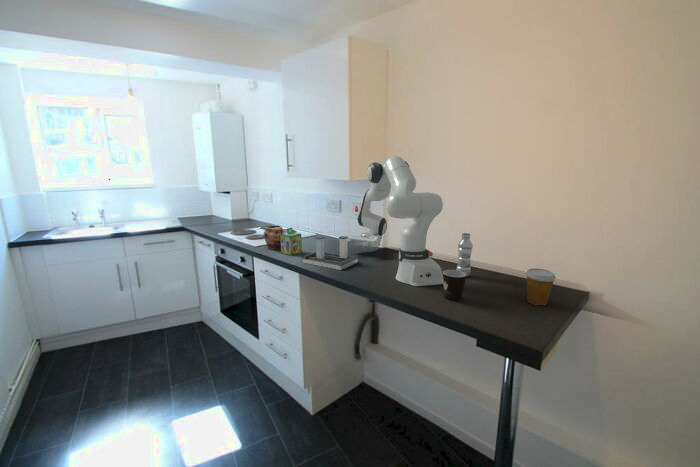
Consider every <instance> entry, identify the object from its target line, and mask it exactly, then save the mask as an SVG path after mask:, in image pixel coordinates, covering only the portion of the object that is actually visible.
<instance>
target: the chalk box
mask: <svg viewBox="0 0 700 467" xmlns="http://www.w3.org/2000/svg"><path fill="white" fill-rule="evenodd" d="M302 238H303V237H302V233H299V232H294V229H293V227H288V228H286V232H284V234H280V240H281V249H280V254H283V255H284V254H285V255H289V256H294V255H298V254H300V253H303V249H302V248H303V246H302V245H303V243H302V242H303V241H302V240H303V239H302Z"/></svg>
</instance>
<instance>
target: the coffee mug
mask: <svg viewBox="0 0 700 467" xmlns="http://www.w3.org/2000/svg"><path fill="white" fill-rule="evenodd" d="M442 274H443V284H442V285H443V298H444V299H445V300H447V301H449V302H460V301H461V300H462V299H463V298H462V297H463V294H464V288H465V283H466V280H467V277H466V273H464V272H462V271H458V270H456V269H447V270H442Z"/></svg>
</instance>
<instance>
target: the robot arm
mask: <svg viewBox="0 0 700 467" xmlns="http://www.w3.org/2000/svg"><path fill="white" fill-rule="evenodd" d="M366 170H367V172H366V175H367V178H368V180H369V182H370V188H368V189H367V190H366V191H365V193H364V196H363V197H362V198H363V199H362V201H361V202H362V203H361V206H360V211H359V213H358V216H357V219H356V220H357V223H358V225H359V226H361V227H363V228H366V229H369V230H366V231H364V232H362V233H361V234H360V235H347V236H348V238H347V245H357V246H361V247H364V248H368V247H371V248H377V247H378V248H379V247H380V246H381V241H382V240H383V239H382V235H383V234H384V235H385V233H386V231H387V228H388V222H387V219H386V218H385V217H383V216H381V215H378V214H376V213H373V212H371V211H370V208H371V204H372V202H380V201H384V200H386V199H387V200H386V204H385V209H386V213H387V214H388V216H390V217H391V218H395V219H411V221H410V222H409V224H408V225H407V226H405V227H404V228H402V230H401V232H400V246H399V251H398V268H397V273H396V275H395V279H396V281H398V282H400V283H403V284H407V285H411V286H413V287H423V286H424V287H426V286H435V285H437V286H438V285H444V284H443V270H442V269H441V266H440V265H439V264H438V263H437V262H436V261H435V260H433V259H432V258H431V257H433V256H434V253H433V252H432V251H431V250H429V249H427V248H426V245H427V236H428V235H427V234H428V231H429V228H430V226H431V224H432V222H433V221H434V220H435V218H436V217H438V216H439V215H440V214H441V212H442V211H443V207H444V203H443V199H442V197H441V196H440V195H439V194H438V193H433V192H414V190H415V189H416V186H417V180H416V178H415V175H414V174H413V172H412V170H411V168H410V165H409V163H408V162H407V161H406V160H405V159H403V158H402V157H401V156H399V155H398V156H397V155H393V156H391V157H388V158H387V160H383V161H378V162H377V161H376V162H372V163H370V164H369V165H368V167H367V169H366ZM391 189H392V193H391ZM390 194H391V195H390ZM381 239H382V240H381Z"/></svg>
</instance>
